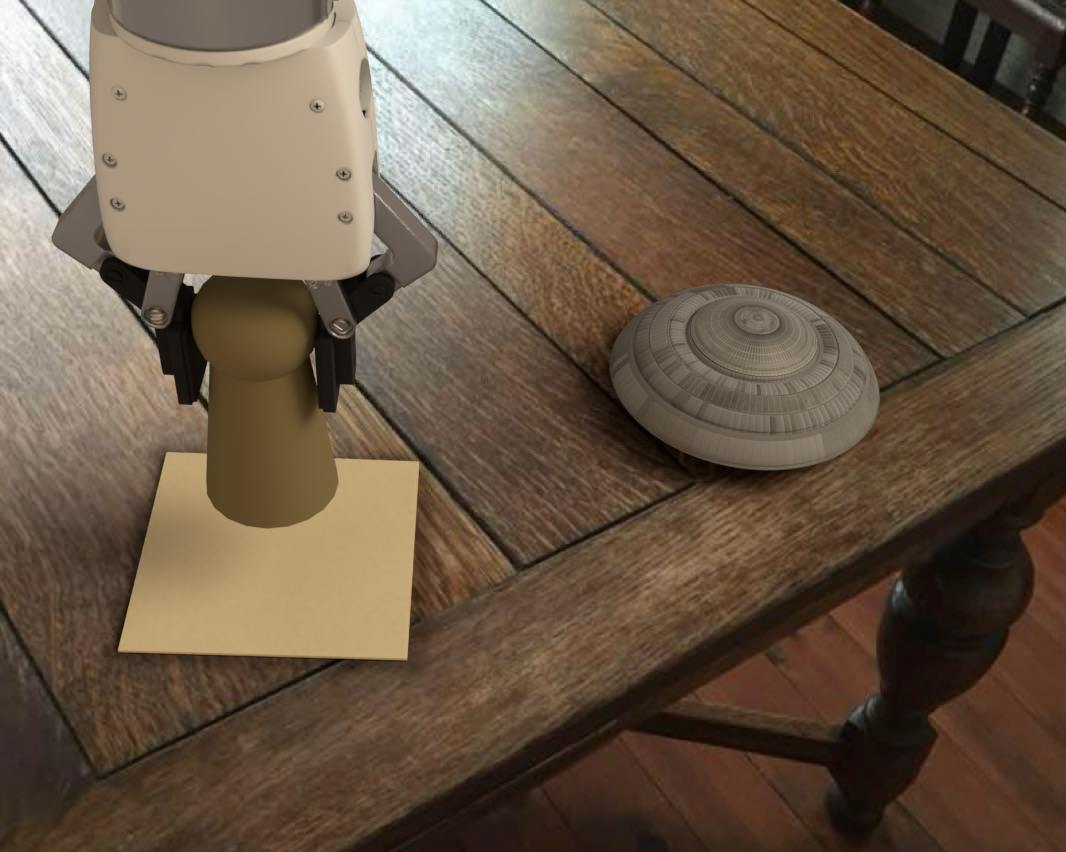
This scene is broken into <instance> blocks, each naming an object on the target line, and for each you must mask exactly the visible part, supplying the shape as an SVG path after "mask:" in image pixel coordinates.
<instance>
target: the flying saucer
mask: <svg viewBox="0 0 1066 852" xmlns="http://www.w3.org/2000/svg"><path fill="white" fill-rule="evenodd" d="M610 351H611V352H610V356H609V374H610V379H611V383H612V386H613V388H614V391H615V393H616V396H617V397H618V399H619V400H620V402H621V404H622V405H623V407H624V408H625V409H626V411H627V412H628V413H629V415H631V417H633V419H634V420H635V421H636V422H637V423H639V424H640V426H641V427H642V428H644V429H645V430H647V432H649V433H650V434H652V435H653V436H655V437H656V438H657V439H659V440H660V441H662V442H664V443H665V444H667V445H669V446H670V447H672V448H674V449H676V450H678V451H681V452H682V453H685V454H687V455H689V456H692V457H695V458H698V459H700V460H703V461H706V462H710V463H713V464H717V465H720V466H725V467H728V468H729V467H730V468H735V469H743V470H751V471H785V470H793V469H794V470H796V469H801V468H806V467H810V466H814V465H818V464H822V463H824V462H827V461H829V460H832V459H834V458H836V457H838V456H840V455H842V454H844V453H845V452H847V451H849V450H850V449H852V448H853V447H855V446H856V445H857V444H858V443H859V442H860V441H861V440H863V438H865V436H866V435H867V434H868V433H869V431H870V430H871V429H872V427H873V425H874V423H875V421H876V418H877V416H878V412H879V409H880V402H881V401H880V399H881V398H880V397H881V393H880V386H879V382H878V379H877V376H876V372H875V370H874V367H873V365H872V363H871V361H870V359H869V358H868V356H867V354H866V352H865V351H864V349H863V348H862V347H861V345H860V344H859V343H858V341H857V340H856V339H855V337H854V336H853V335H852V334H851V333H850V332H849V330H847V328H845V327H844V325H842V324H841V323H840V322H839V321H837V319H835V318H834V317H833V316H832V315H830V314H829V313H827V312H826V311H824V310H823V309H821V308H820V307H818V306H816V305H814V304H812V303H810V302H809V301H807V300H805V299H802V298H800V297H798V296H795V295H793V294H790V293H787V292H785V291H781V290H778V289H774V288H771V287H767V286H766V287H765V286H760V285H754V284H748V283H747V284H746V283H713V284H705V285H699V286H694V287H690V288H686V289H685V290H680V291H677V292H674V293H672V294H670V295H667V296H664V297H662V298H661V299H659V300H657V301H656V302H654V303H652V304H650V305H648V306H647V307H645V308H644V309H642V311H640V312H639V313H637V314H636V315H635V316H634V317H632V319H631V320H630V321H628V323H627V324H626V325H625V326H624V327H623V328H622V330H621V331H620V332H619V334H618V335H617V337H616V339H615V341H614V342H613V346H612V348H611V350H610Z"/></svg>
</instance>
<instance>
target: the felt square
mask: <svg viewBox="0 0 1066 852" xmlns="http://www.w3.org/2000/svg"><path fill="white" fill-rule="evenodd" d="M334 459H335V463H336V467H337V474H338V480H339V483H338V486H337V490H336V493H335V496H334V498H333V499H332V500H331V501H330V502H329V504H328V505H327V506H326V507H325V509H324V510H322V511H321V512H319V513H318V514H316V515H315V516H313V517H312V518H310V519H309V520H306V521H303V522H300V523H297V524H294V525H291V526H288V527H279V528H269V529H266V528H258V527H250V526H245V525H242V524H240V523H237V522H235V521H232V520H230V519H227V518H226V517H225V516H224V515H223V514H221V513H220V512H219V511H218V510H216V509H215V508H214V506H213V504H212V503H211V501H210V499H209V497H208V495H207V486H206V468H207V452H205V453H204V452H203V453H202V452H179V451H178V452H175V451H166V453H165V457H164V461H163V465H162V469H161V474H160V477H159V480H158V485H157V489H156V493H155V497H154V502H153V505H152V510H151V514H150V518H149V521H148V525H147V529H146V533H145V537H144V541H143V542H144V543H143V546H142V550H141V554H140V558H139V561H138V567H137V570H136V575H135V579H134V583H133V587H132V591H131V594H130V599H129V604H128V608H127V610H126V615H125V619H124V624H123V627H122V631H121V635H120V640H119V644H118V647H117V652H118V653H130V654H131V653H133V654H164V655H165V654H166V655H167V654H169V655H202V656H203V655H204V656H205V655H206V656H235V657H238V656H239V657H241V656H242V657H268V658H269V657H271V658H272V657H273V658H306V659H307V658H311V659H337V660H338V659H340V660H341V659H342V660H343V659H344V660H372V661H373V660H374V661H377V660H378V661H379V660H380V661H408V657H409V656H408V653H409V638H410V637H409V636H410V624H411V623H410V622H411V604H412V590H413V573H414V557H415V542H416V541H415V540H416V524H417V508H418V507H417V506H418V490H419V488H418V487H419V475H420V473H419V472H420V461H416V460H392V459H390V460H388V459H387V460H386V459H366V458H365V459H363V458H338V457H336V458H335V457H334Z"/></svg>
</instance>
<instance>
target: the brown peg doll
mask: <svg viewBox="0 0 1066 852" xmlns="http://www.w3.org/2000/svg"><path fill="white" fill-rule="evenodd" d="M196 293H197V295H196V297H195V299H194V301H193V304H192V310H191V326H192V332H193V338H194V340H195V342H196V344H197V346H198V348H199V350H200V352H201V353H202V355H203V356H204V358H205V360H207V361H208V362H207V363H209V364H208V365H209V367H208V368H209V369H208V399H207V400H208V403H207V436H206V437H207V439H206V454H207V468H206V486H207V495H208V497H209V499H210V501H211V503H212V504H213V506H214V508H215V509H216V510H218V511H219V512H220V513H221V514H223V515H224V516H225V517H226V518H227V519H230V520H232V521H235V522H237V523H240V524H242V525H245V526H250V527H258V528H266V529H269V528H279V527H288V526H291V525H294V524H297V523H300V522H303V521H306V520H309V519H310V518H312V517H313V516H315V515H316V514H318V513H319V512H321V511H322V510H324V509H325V507H326V506H327V505H328V504H329V502H330V501H331V500H332V499H333V498H334V496H335V493H336V490H337V486H338V483H339V480H338V474H337V467H336V463H335V459H334V458H335V455H334V451H333V447H332V443H331V438H330V435H329V430H328V426H327V422H326V418H325V412H323V409H319V407H318V393H317V379H316V375H315V372H314V367H313V364H312V363H313V362H312V360H311V356H310V355H311V354H312V353H313V352H314V351H315V349H314V341H315V334H316V329H317V323H318V320H319V312H318V309H317V307H316V305H315V303H314V301H313V298H312V296H311V294H310V292H309V289H308V287H307V285H306V283H305V281H304V280H291V279H271V278H252V277H234V276H218V275H210V277H209V278H208V279H206V281H204V283H202V285H201V286H200V288H199V289H198V291H197V292H196Z"/></svg>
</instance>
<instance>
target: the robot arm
mask: <svg viewBox="0 0 1066 852" xmlns="http://www.w3.org/2000/svg"><path fill="white" fill-rule="evenodd" d="M93 2H94V3H93V6H92V8H91V12H90V25H89V44H88V45H89V46H88V47H89V48H88V49H89V51H88V70H89V71H88V72H89V73H88V80H89V81H88V83H89V85H88V86H89V108H90V110H89V111H90V124H91V125H90V126H91V139H92V141H91V142H92V152H93V164H94V174H93V176H92V177H91V178H90V179H89V181H88V182H87V183H86V184H85V185H84V187H83V188H82V189H81V190H80V191H79V193H78V194H76V196H75V197H74V198H73V200H72V201H71V202H70V204H69V205H68V206H67V207H66V209H65V210H64V211H63V212H62V213H61V215H60V216H59V217H58V220H57V222H56V225H55V227H54V229H53V232H52V234H51V242H52V244H53V246H54V247H56V248H57V249H58V250H59V251H60V252H63V253H64V254H66V255H67V256H69V257H70V258H72V259H73V260H74V261H76V262H78V264H81V265H82V266H84V267H86V268H87V269H88V270H90V271H92V270H94V271H96V272H97V273H99V277H100V279H101V281H102V283H105V285H107V286H108V287H109V288H111V289H112V290H113V291H115V292H116V293H117V294H119V295H120V296H121V297H123V298H124V299H125V300H127V301H128V302H130V303H131V304H132V305H133V306H135V307H136V308H138V309H139V311H140V318H141V321H142V322H143V323H144V324H145V325H147V326H148V327H150V328H153V329H154V333H155V339H156V345H157V351H158V357H159V362H160V367H161V373H162V375H164V376H173V379H174V386H175V391H176V396H177V402H178V405H183V406H192V405H194V403H198V400H199V397H200V393H201V389H202V385H203V381H204V378H205V374H206V370H207V366H208V363H209V362H208V361H207V360H205V358H204V356H203V355H202V353H201V352H200V350H199V348H198V346H197V344H196V342H195V340H194V338H193V332H192V326H191V310H192V304H193V301H194V299H195V297H196V295H197V293H198V292H195V286H194V285H187V284H186V283H185V282H184V280H185V276H186V274H188V275H204V276H212V275H218V276H234V277H252V278H271V279H291V280H302V281H303V282H304V283H305V284H306V285H307V287H308V289H309V292H310V294H311V296H312V298H313V301H314V303H315V305H316V307H317V309H318V312H319V320H318V323H317V329H316V334H315V341H314V362H315V363H314V364H315V379H316V384H317V393H318V407H319V409H323V413H332V414H336V413H337V408H338V401H339V396H340V389H341V385H342V386H343V385H345V386H354V385H355V380H356V374H357V373H356V372H357V342H356V329H357V326H358V325H359V324H361V323H362V322H363V321H364V320H365V319H367V318H368V317H369V316H370V315H372V314H373V313H374V312H376V311H377V310H378V309H380V308H381V307H383V306H384V305H385V304H386V303H388V302H389V301H390V300H391V299H392V298H393V297H394V294H395V293H396V292H398V291H399V290H401V289H402V288H403V289H405V288H406V287H408V286H410V285H411V284H413V283H415V281H417V280H419V279H420V278H422V277H424V276H425V275H427V274H428V273H430V272H431V271H433V270H434V269H435V268H436V266H437V264H438V263H437V262H438V253H439V241H438V239H437V238H436V237H435V236H434V235H433V233H432V232H430V230H429V229H428V228H427V227H426V226H425V225H424V224H423V222H421V221H420V220H419V218H418V217H417V216H416V215H415V214H414V213H413V212H412V211H411V210H410V209H409V208H408V206H407V205H405V204H404V203H403V201H402V200H401V199H400V198H399V197H398V196H397V194H395V193H394V192H393V190H392V189H391V188H389V186H388V185H387V184H386V183H385V182H384V181H383V180H382V179H381V171H380V170H381V169H380V168H381V167H380V158H379V143H378V142H379V141H378V129H377V118H376V117H377V115H376V109H375V99H374V98H375V97H374V91H373V90H374V89H373V82H372V76H371V74H372V73H371V68H370V61H369V58H368V57H369V55H368V51H367V46H366V39H365V35H364V31H363V27H362V23H361V19H360V15H359V11H358V8H357V4H356V1H355V0H94V1H93ZM374 235H375V236H376V237H377V238H378V240H380V241H381V242H382V243H383V245H385V247H387V249H385V252H384V253H378V254H375V255H373V256H372V245H373V243H374Z"/></svg>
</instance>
